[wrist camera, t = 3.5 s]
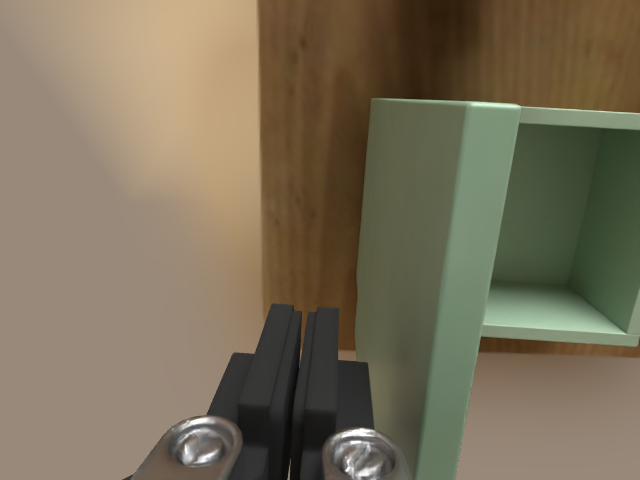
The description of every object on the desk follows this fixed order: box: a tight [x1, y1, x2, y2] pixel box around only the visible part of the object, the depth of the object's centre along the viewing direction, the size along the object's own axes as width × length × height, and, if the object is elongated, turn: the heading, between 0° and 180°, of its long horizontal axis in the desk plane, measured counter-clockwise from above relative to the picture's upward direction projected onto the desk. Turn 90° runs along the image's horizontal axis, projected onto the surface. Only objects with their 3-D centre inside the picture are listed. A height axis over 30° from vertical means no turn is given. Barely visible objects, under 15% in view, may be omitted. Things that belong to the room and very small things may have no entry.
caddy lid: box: [354, 98, 521, 480], centre depth 16 cm, size 16×13×1 cm
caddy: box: [356, 98, 640, 347], centre depth 28 cm, size 16×13×8 cm
